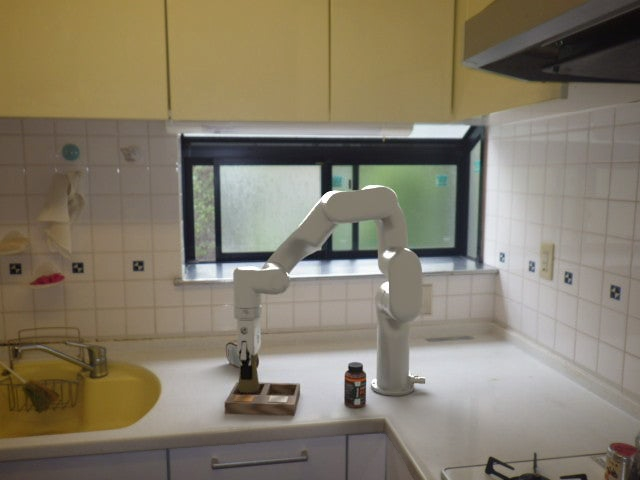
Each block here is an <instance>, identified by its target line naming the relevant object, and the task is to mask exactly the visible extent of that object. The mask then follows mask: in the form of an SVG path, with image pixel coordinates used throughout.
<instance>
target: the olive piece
mask: <svg viewBox="0 0 640 480" xmlns="http://www.w3.org/2000/svg"><path fill="white" fill-rule="evenodd" d="M246 354H249V352H247V353H246ZM247 358H248V360H249V357H247ZM257 358H259V353H258V352H257V353H256V355H254V356H253V355H252V357H251V365H252V371H253V378H252V380H242V379H241V369H240V368H239V376H238V381H237V382H238V390H239V391H240V392H244V393H243V394H246V393H250V392H255V391H257V390H259V381H260V380H259V375H258V368H257V367H256V360H257ZM239 360H240V362H241V355H239Z"/></svg>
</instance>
